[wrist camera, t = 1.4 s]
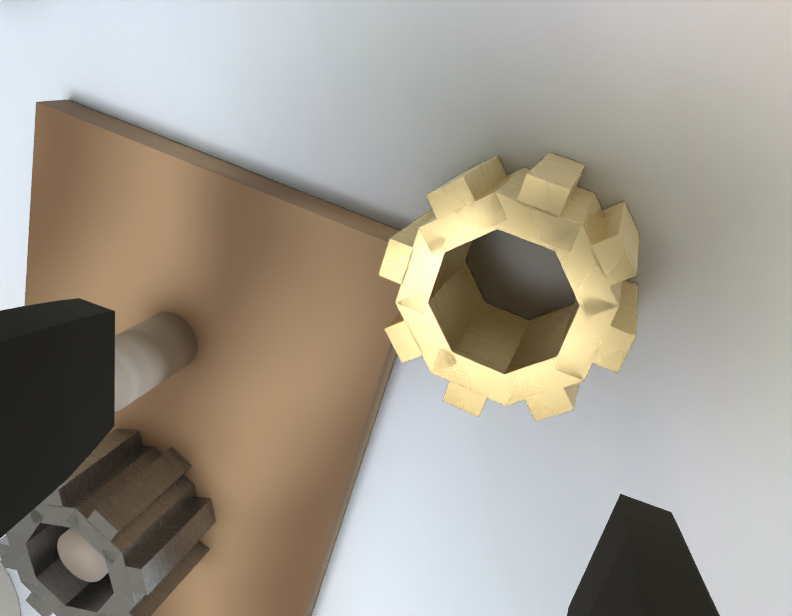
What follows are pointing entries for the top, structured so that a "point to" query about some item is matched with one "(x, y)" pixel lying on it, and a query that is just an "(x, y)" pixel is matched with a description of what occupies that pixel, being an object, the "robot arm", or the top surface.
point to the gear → (114, 531)
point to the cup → (8, 595)
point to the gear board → (220, 342)
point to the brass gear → (496, 328)
